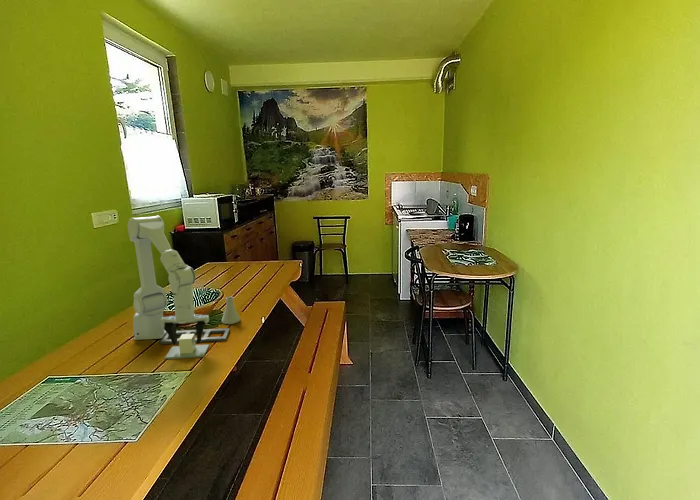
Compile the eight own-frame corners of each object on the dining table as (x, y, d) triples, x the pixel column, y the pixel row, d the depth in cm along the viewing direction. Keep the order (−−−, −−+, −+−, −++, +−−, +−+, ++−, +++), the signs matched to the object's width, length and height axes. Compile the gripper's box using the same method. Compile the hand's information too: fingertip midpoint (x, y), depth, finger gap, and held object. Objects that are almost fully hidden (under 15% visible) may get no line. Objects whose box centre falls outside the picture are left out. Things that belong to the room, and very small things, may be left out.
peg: (179, 353, 123) (178, 339, 122) (183, 348, 127) (182, 334, 126) (192, 352, 124) (191, 338, 123) (195, 347, 128) (194, 333, 127)
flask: (217, 322, 150) (216, 299, 148) (230, 316, 157) (229, 294, 155) (231, 326, 147) (229, 301, 145) (244, 320, 153) (243, 296, 151)
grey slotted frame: (160, 344, 131) (160, 341, 131) (168, 333, 140) (168, 331, 139) (225, 340, 134) (225, 338, 134) (229, 330, 143) (229, 328, 143)
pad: (165, 359, 120) (164, 357, 120) (172, 348, 128) (172, 346, 128) (204, 356, 122) (203, 355, 122) (209, 346, 130) (209, 344, 130)
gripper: (156, 309, 117) (159, 349, 120) (204, 307, 119) (207, 347, 122) (163, 302, 124) (167, 340, 126) (209, 300, 126) (211, 338, 129)
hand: (187, 343), depth 125 cm, fingers open, 7 cm apart
